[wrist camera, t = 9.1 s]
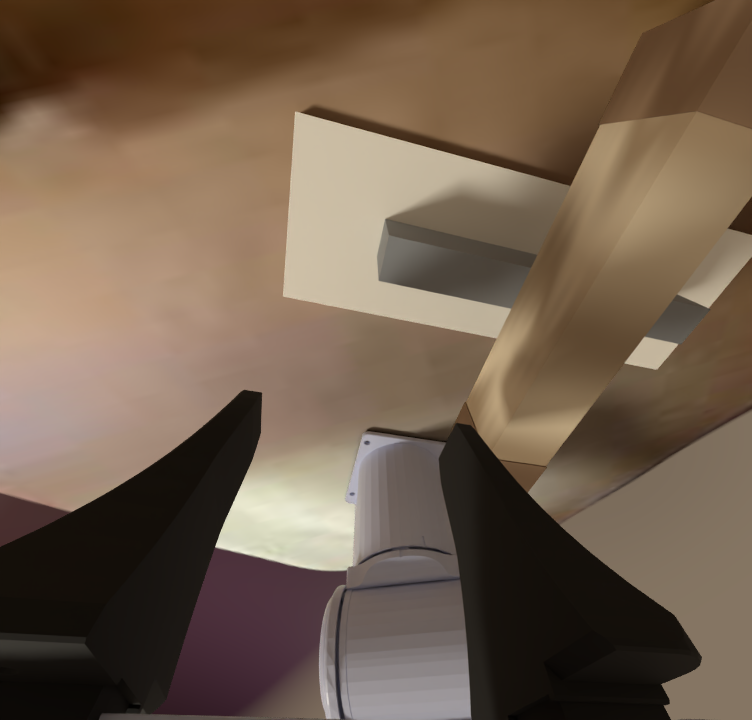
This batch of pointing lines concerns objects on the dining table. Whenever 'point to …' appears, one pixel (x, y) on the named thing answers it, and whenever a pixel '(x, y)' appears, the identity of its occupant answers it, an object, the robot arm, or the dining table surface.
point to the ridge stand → (442, 236)
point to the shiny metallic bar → (624, 233)
